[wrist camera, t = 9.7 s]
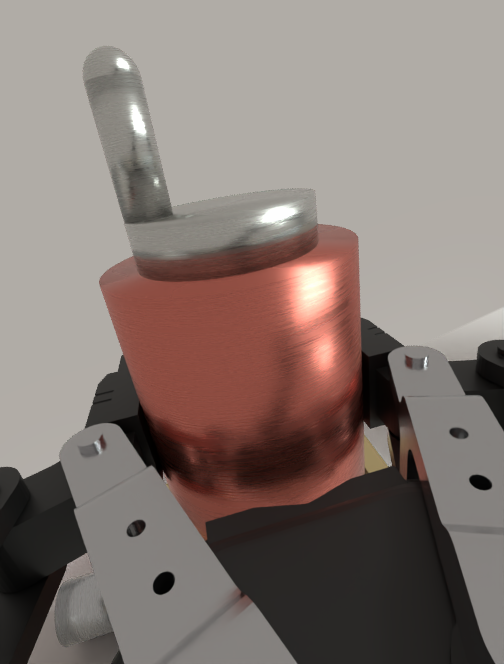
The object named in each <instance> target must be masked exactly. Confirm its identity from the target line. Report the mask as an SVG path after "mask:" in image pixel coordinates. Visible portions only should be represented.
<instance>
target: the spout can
mask: <svg viewBox="0 0 504 664" xmlns="http://www.w3.org/2000/svg"><path fill="white" fill-rule="evenodd" d="M83 80H84V85H85V89H86V92H87V96H88V99H89V103H90V106H91V109H92V113H93V116H94V120H95V123H96V127H97V130H98V133H99V137H100V140H101V144H102V147H103V151H104V154H105V158H106V161H107V164H108V167H109V171H110V175H111V178H112V182H113V185H114V188H115V192H116V195H117V199H118V202H119V205H120V209H121V212H122V216H123V219H124V225H125V228H126V232H127V235H128V239H129V242H130V245H131V249H132V252H133V256H132V257H130V258H128V259H126V260H124V261H122V262H120V263H118V264H116V265H115V266H113V267H111V268H110V269H109V270H107V271H106V272H105V273H104V274H103V275H102V276H101V278H100V281H99V284H100V287H101V290H102V293H103V296H104V299H105V302H106V305H107V308H108V310H109V314H110V317H111V320H112V322H113V325H114V328H115V331H116V334H117V337H118V340H119V343H120V346H121V349H122V351H123V355H124V358H125V360H126V363H127V366H128V369H129V372H130V375H131V378H132V381H133V384H134V387H135V390H136V393H137V395H138V398H139V401H140V404H141V407H142V410H143V413H144V416H145V419H146V422H147V425H148V428H149V431H150V433H151V436H152V439H153V442H154V445H155V448H156V451H157V454H158V457H159V460H160V463H161V466H162V468H163V471H164V474H165V477H166V480H167V483H168V486H169V489H170V491H171V493H172V494H173V496H174V497H175V498H176V500H177V501H178V503H179V504H180V506H181V507H182V509H183V510H184V511H185V513H186V514H187V516H188V517H189V519H190V520H191V522H192V523H193V524H194V526H195V527H196V529H197V530H198V532H199V533H200V535H201V536H202V537H203V539H204V540H207V533H206V525H205V522H207V521H211V520H214V519H217V518H221V517H224V516H227V515H231V514H234V513H237V512H241V511H244V510H247V509H251V508H254V507H269V506H283V505H297V504H306V503H309V502H311V501H313V500H315V499H317V498H318V497H320V496H322V495H323V494H325V493H327V492H329V491H330V490H332V489H334V488H335V487H337V486H339V485H340V484H342V483H344V482H345V481H347V480H349V479H351V478H354V477H357V476H361V475H364V474H365V458H364V423H363V388H362V354H361V319H360V286H359V285H360V284H359V252H358V251H359V250H358V236H357V235H356V234H355V233H354V232H352V231H351V230H348V229H346V228H342V227H338V226H332V225H323V224H318V223H317V210H316V198H315V197H316V196H315V190H312V189H281V190H269V191H261V192H253V193H245V194H239V195H231V196H225V197H219V198H213V199H208V200H202V201H198V202H192V203H187V204H183V205H178V206H174V207H171V203H170V198H169V194H168V190H167V186H166V181H165V177H164V173H163V168H162V164H161V160H160V156H159V152H158V147H157V143H156V139H155V134H154V130H153V126H152V122H151V118H150V113H149V109H148V104H147V100H146V96H145V92H144V88H143V83H142V79H141V75H140V72H139V70H138V68H137V66H136V64H135V63H134V62H133V60H132V59H131V58H130V57H129V56H128V55H127V54H126V53H125V52H123V51H122V50H120V49H118V48H115V47H111V46H102V47H99V48H96V49H94V50H93V51H92V52H91V53H90V54H89V55H88V56H87V58H86V60H85V62H84V66H83Z"/></svg>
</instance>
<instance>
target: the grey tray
mask: <svg viewBox="0 0 504 664" xmlns="http://www.w3.org/2000/svg"><path fill="white" fill-rule="evenodd" d="M364 458H365V474H367V473H371V472H374V471H377V470H381V469H384V468H387V467H388V466H387V464H386V463H385V462H384V460H383V459H382V458H381V456H380V455H379V454H378V452H377V451H376V450H375V448H374V447H373V446H372V444H371V443H370V442H369V440H368V439H367V438H366V436H365V435H364ZM166 485H167V487H168V488H169V486H168V484H166ZM169 490H170V489H169ZM55 628H56V633H57V637H58V640H59V642H60V643H61V645H62V646H64V647H68V646H71V645H74V644H77V643H80V642H83V641H86V640H89V639H92V638H95V637H98V636H101V635H104V634H107V633H111V632H114V631H113V628H112V625H111V622H110V619H109V616H108V613H107V610H106V607H105V604H104V601H103V598H102V595H101V592H100V589H99V586H98V583H97V580H96V577H95V574H94V572H93V573H90V574H87V575H84V576H80V577H77V578H74V579H71V580H67V581H65V582H64V583H63V584H62V585H61V587H60V589H59V592H58V595H57V599H56V605H55Z"/></svg>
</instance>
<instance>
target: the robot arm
mask: <svg viewBox="0 0 504 664" xmlns="http://www.w3.org/2000/svg"><path fill="white" fill-rule="evenodd" d="M360 319H361V354H362V388H363V420H364V422H365V423H366V424H367V425H368V427H369V428H370V429H371V428H374V427H378V426H381V425H386V426H387V428H388V429H387V439H388V445H389V451H390V456H391V461H392V466H391V467H387V468H384V469H381V470H377V471H374V472H371V473H367V474H364V475H361V476H357V477H354V478H351V479H349V480H347V481H345V482H344V483H342V484H340V485H339V486H337V487H335V488H334V489H332V490H330V491H329V492H327V493H325V494H323V495H322V496H320V497H318V498H317V499H315V500H313V501H311V502H309V503H306V504H297V505H283V506H269V507H254V508H251V509H247V510H244V511H241V512H237V513H234V514H231V515H227V516H224V517H221V518H217V519H214V520H211V521H207V522H205V525H206V533H207V540H204V539H203V537H202V536H201V535H200V533H199V532H198V530H197V529H196V527H195V526H194V524H193V523H192V522H191V520H190V519H189V517H188V516H187V514H186V513H185V511H184V510H183V509H182V507H181V506H180V504H179V503H178V501H177V500H176V498H175V497H174V496H173V494H172V493H171V491H170V490H169V488H168V487H167V485H166V484H165V483H164V481H163V468H162V466H161V463H160V460H159V457H158V454H157V451H156V448H155V445H154V442H153V439H152V436H151V433H150V431H149V428H148V425H147V422H146V419H145V416H144V413H143V410H142V407H141V404H140V401H139V398H138V395H137V393H136V390H135V387H134V384H133V381H132V378H131V375H130V372H129V369H128V366H127V363H126V360H125V358H124V355H122V356H121V360H120V364H119V369H118V372H114V373H110V374H107V375H106V377H105V378H104V379H103V380H102V381H101V382H100V383H99V384H98V387H97V390H96V393H95V397H94V400H93V405H92V406H91V410H90V413H89V416H88V419H87V423H86V426H85V429H84V430H82V431H80V432H78V433H77V434H75V435H74V436H72V438H70V439H69V440H68V441H67V442H66V443H65V444H64V445H63V447H62V449H61V451H60V455H59V457H60V461H59V462H58V463H56V464H54V465H52V466H51V467H49V468H46V469H44V470H42V471H40V472H38V473H36V474H34V475H32V476H30V477H27V478H25V479H23V478H22V477H21V475H20V473H19V472H18V470H17V469H15V468H12V467H1V468H0V664H27V663H28V660H29V658H30V655H31V653H32V651H33V648H34V646H35V643H36V641H37V638H38V636H39V634H40V631H41V629H42V626H43V624H44V622H45V619H46V617H47V614H48V612H49V609H50V607H51V605H52V602H53V600H54V597H55V595H56V593H57V590H58V588H59V585H60V583H61V580H62V578H63V576H64V573H65V570H66V567H67V564H68V563H70V562H72V561H73V560H75V559H77V558H78V557H80V556H82V555H84V554H85V553H88V556H89V559H90V562H91V565H92V568H93V571H94V574H95V577H96V580H97V583H98V586H99V589H100V592H101V595H102V598H103V601H104V604H105V607H106V610H107V613H108V616H109V619H110V622H111V625H112V628H113V631H114V634H115V637H116V640H117V643H118V646H119V651H118V653H117V654H116V656H115V658H114V660H113V661H112V663H111V664H504V340H492V341H488V342H485V343H483V344H481V345H480V346H479V347H478V353H477V360H466V361H447V359H446V357H445V356H444V355H443V354H442V353H440V352H439V351H437V350H435V349H432V348H428V347H423V346H406V347H405V346H404V345H402V344H401V343H399V342H398V341H397V340H395V339H394V338H392V337H391V336H390V335H388V334H387V333H385V332H384V331H383V330H381V329H380V328H377V326H376V325H374V324H373V323H372V322H370V321H369V320H366V319H363V318H360Z"/></svg>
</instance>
